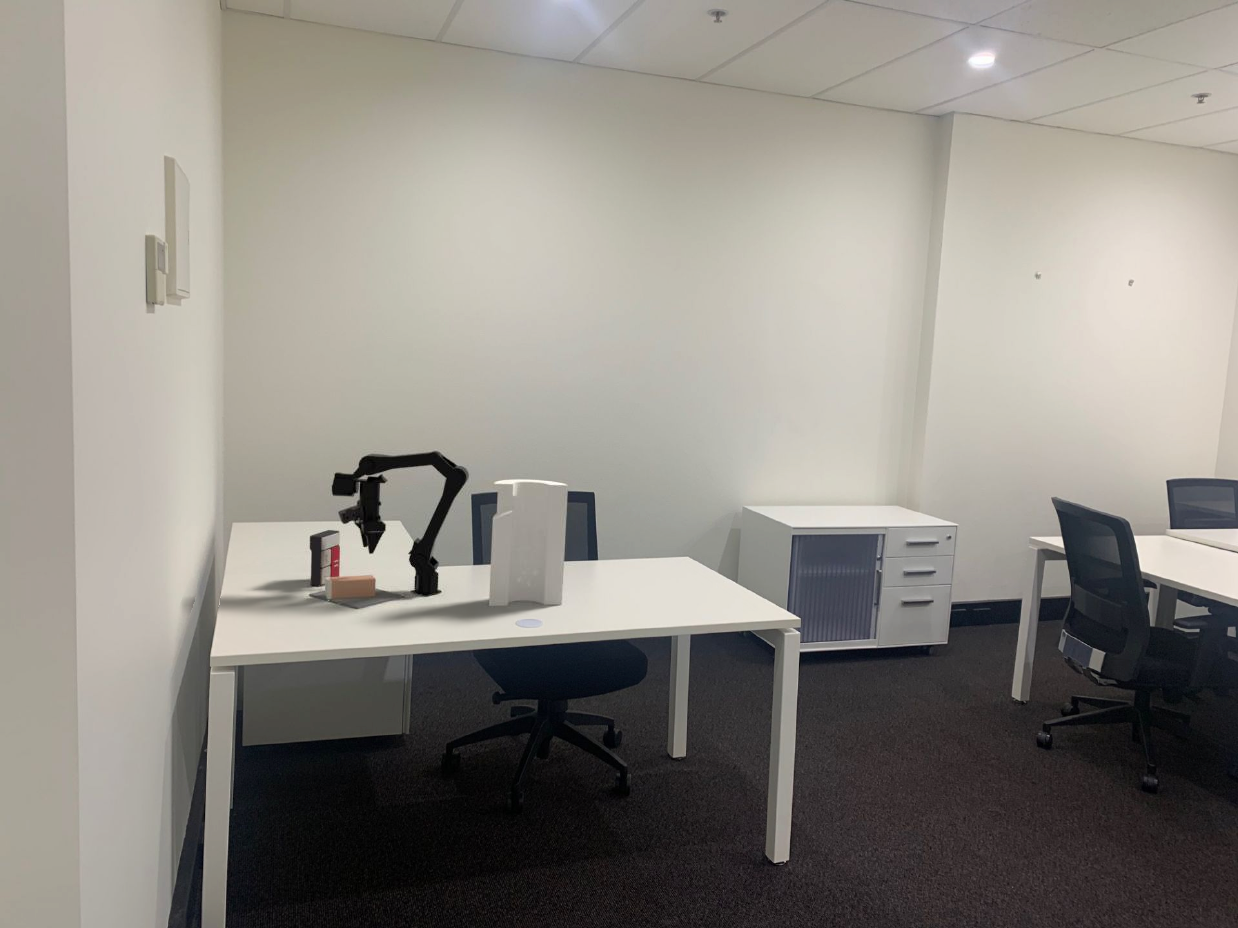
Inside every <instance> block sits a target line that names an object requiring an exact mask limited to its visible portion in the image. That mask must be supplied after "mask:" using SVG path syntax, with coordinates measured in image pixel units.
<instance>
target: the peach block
mask: <svg viewBox="0 0 1238 928" xmlns="http://www.w3.org/2000/svg"><path fill="white" fill-rule="evenodd" d="M376 579H377V578H376V577H374V576H373V574H368V575H365V574H364V575H349V576H347V575H345V576H339V577H325V584H324V590H325V596H326V597H327V599H339V598H355V597H371V596H375V588H376V582H377V581H376Z"/></svg>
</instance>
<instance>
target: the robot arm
mask: <svg viewBox="0 0 1238 928" xmlns="http://www.w3.org/2000/svg"><path fill="white" fill-rule="evenodd" d="M424 466H425V467H426V466H432V467H433V468H435V470H437V472H438V473H440V474H441V476H443V477H444V478H445V481H444V486H443V490H442V495H441V497H440V499H439V500H438V501H439V502H438V503H437V506H436V507H435V510H434V513H433V514H432V517H431V518H430V520H429V523H428V525H427V527H426V530H425V531H424V534H423V536H422V538H421V539H420V538H419V537H416V539H415V540H414V541H413V544H412V546H411V549H410V550H409V551H408V555H409V558H408V562H409V564H410V565H411V567H413V569H414V570H415V575H414V584H413V585H414V586H413V587H414V588H413V589H412V590H410V593H412V594H417V595H421V596H424V597H429V596H432V595H437V594H440V593H442V590H441V589H439V572H437V570H438V567H439V565H440V562H439V561H438V560H437V559H436V558H435V557H434V556H433V555H434V551H435V547H436V542H437V541H436V540H437V538H438V535H440V534H439V533H440V531H441V529H442V527H443V525H444V523H445V521H446V519H447V516H448V514H449V512H450V510H451V507H452V506H453V503H454V501H455V499H456V498H457V496H458V495H459V493H460V492H461V490H462V489H463V488H464V486H465V485H466V483H467V482H468V480H469V477H470V474H469V471H468V470H467V468H466V467H464V466H462V465H458V464H456V463H454V462H453V461H452V460H451V459H449V458H447V457H446V456H445V455H443V453H441V452H440V451H437V450H433V451H429V452H428V451H427V452H418V453H410V454H409V453H408V454H399V455H398V454H397V455H391V454H390V455H389V454H381V453H371V454H367V455H365V456H362V457H361V458H360V459H359V462H358V467H357V469H355V471H353V473H343V472H340V471H339V472H338V471H336V472H335V473H334V478H333V481H332V484H331V494H332V496H333V497H350V498H351V497H354V496H355V495H356V494H358V493H359V495H358V496H359V497H358V498H359V499H357V501H356V505H353V506H350V507H346V508H344V509H341V510H339V511H337V512H338V513H337V514H338V516H339V519H340V522H341V523H342V524H343V525H346V524H349V523H351V522H353V523H354V525H355V526H356V527H357V528H358V529H359V533H360V537H361V542H362V547H363V548H367V549H368V553H369V555H371V554H372V555H373V554H374V553H375V551H376V549H377V546H378V544H379V542H380V540H381V538H382V537H383V535H384V534H385V532H386V526H387V524H386V523H385V522H384V521H382V519H381V517H382V516H381V515H380V506H382V501H381V484H385V483H387V482H388V480H389V479H387V478H386V477H384V475H383V474H382V473H384V472H387V471H390V470H397V469H404V468H405V469H407V468H408V469H409V468H415V467H416V468H417V467H424ZM380 473H381V474H380ZM377 474H379V475H378V476H375V475H377ZM364 476H367V478H362V477H364Z"/></svg>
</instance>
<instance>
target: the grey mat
mask: <svg viewBox="0 0 1238 928" xmlns="http://www.w3.org/2000/svg"><path fill="white" fill-rule="evenodd" d="M308 595H309V596H310V597H312V596H314V597H313V598H316V597H317V599H320V598H321V599H320V600H323V599H324V601H327V600H329V601H328V602H331V601H333V602H332V603H334V602H336V603H335V604H338V603H340V604H339V605H342V606H345V605H346V607H350V608H352V607H353V609H356V610H359V609H364V608H368V607H370V606H376V605H379V604H383V603H386V602H390V601H395V600H397V599H403V598H404V597H405V595H404V594H399V593H396V592H395V593H394V592H393V591H388V590H384V589H379V588H376V587H375V596H371V597H355V598H339V599H327V597H326V596H325V589H324V590H321V591H316V592H312V593H309V594H308Z"/></svg>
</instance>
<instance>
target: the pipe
mask: <svg viewBox="0 0 1238 928" xmlns="http://www.w3.org/2000/svg"><path fill="white" fill-rule="evenodd" d="M493 483H494V484H493V488H494V489H495V490H497V500H496V501H497V504H496V513H495V514H494V515H493V517H492V527H491V530H492V531H491V547H490V548H491V550H490V551H491V553H490V572H489V574H490V577H489V595H488V596H489V598H488V599H489V600H488V606H490V607H495V606H497V607H498V606H499V607H500V606H502V607H503V606H504V607H505V606H506V607H507V606H508V605H509V604H510V603H512V602H517V601H518V602H519V601H529V602H530V601H531V602H536V603H539V604H542V605H543V606H553V605H554V606H555V605H556V606H558V605H560V606H561V605H563V591H564V590H563V589H564V570H565V569H564V568H565V553H566V552H565V550H566V549H565V548H566V534H567V532H566V531H567V514H568V511H567V509H568V494H569V493H568V491H569V485H568V484H566V483H563V482H556V481H550V480H541V479H523V478H522V479H521V478H520V479H517V478H516V479H502V480H497V481H494V482H493Z"/></svg>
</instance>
